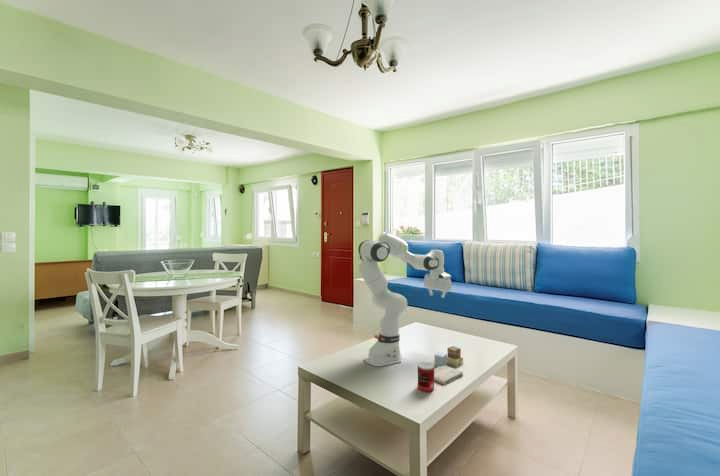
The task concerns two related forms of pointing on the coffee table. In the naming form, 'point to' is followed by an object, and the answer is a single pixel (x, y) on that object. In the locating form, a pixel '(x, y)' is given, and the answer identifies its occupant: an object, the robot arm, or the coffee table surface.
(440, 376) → the washcloth
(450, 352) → the walnut block
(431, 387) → the canned food
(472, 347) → the coffee table surface
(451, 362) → the oak base block
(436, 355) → the grey-blue block
